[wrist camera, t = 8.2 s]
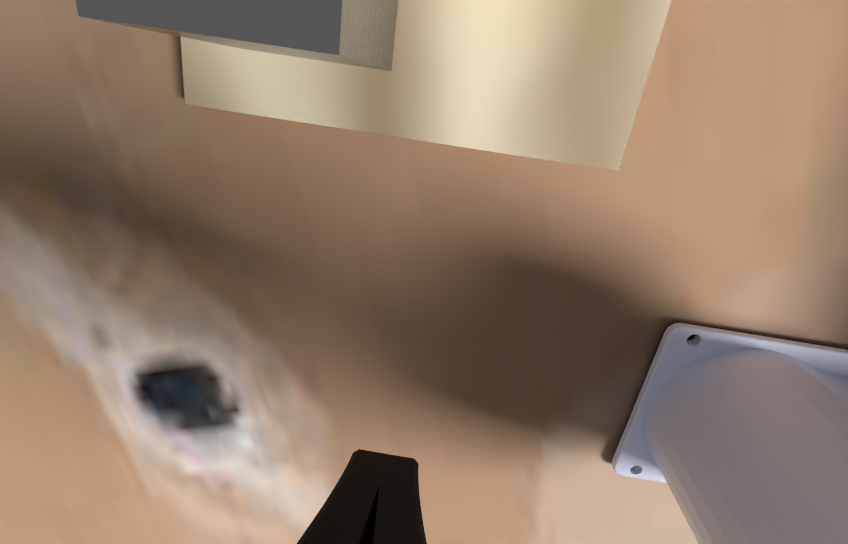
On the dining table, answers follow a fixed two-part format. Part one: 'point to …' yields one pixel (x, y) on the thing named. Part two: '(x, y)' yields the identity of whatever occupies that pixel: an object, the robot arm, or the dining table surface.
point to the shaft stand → (421, 66)
